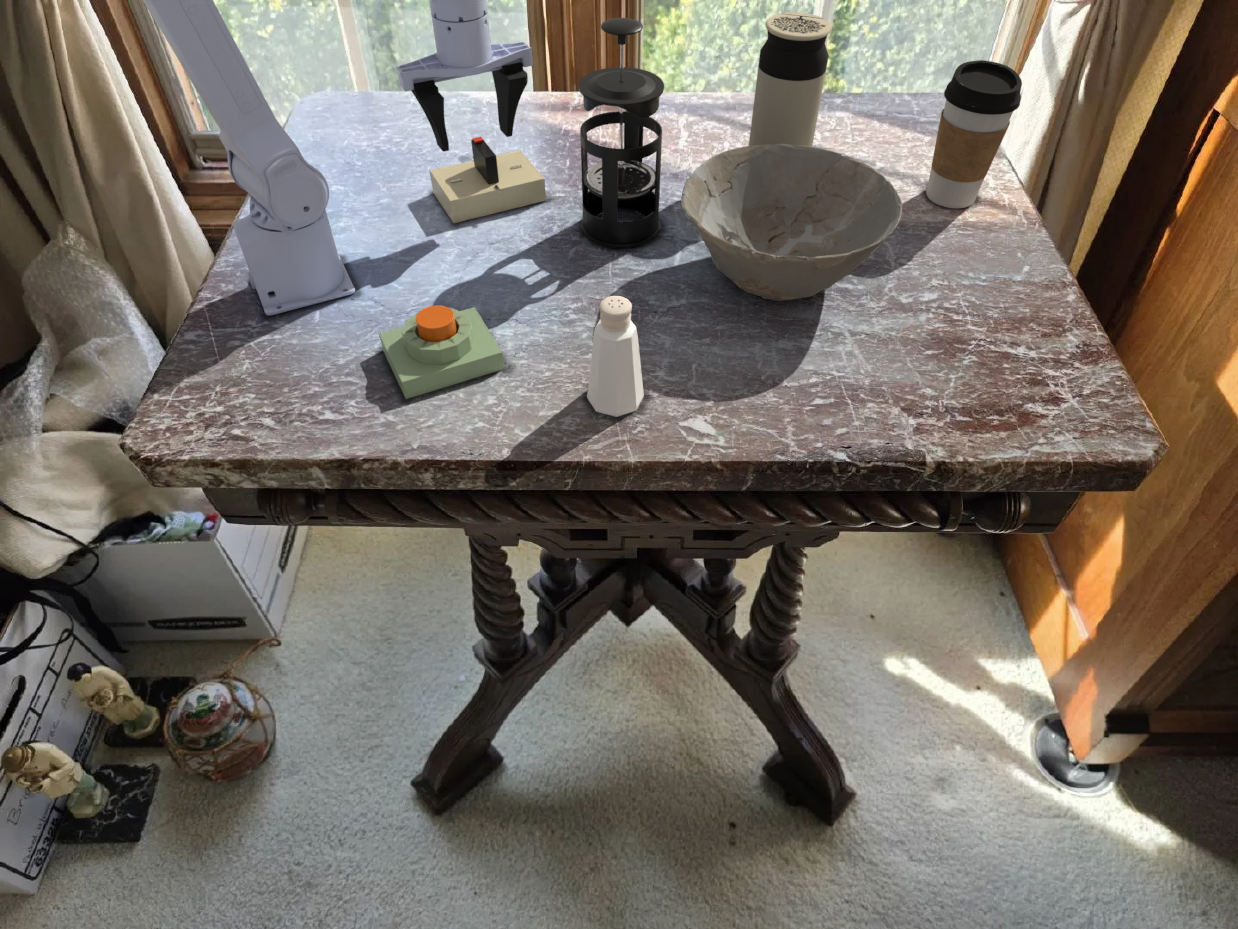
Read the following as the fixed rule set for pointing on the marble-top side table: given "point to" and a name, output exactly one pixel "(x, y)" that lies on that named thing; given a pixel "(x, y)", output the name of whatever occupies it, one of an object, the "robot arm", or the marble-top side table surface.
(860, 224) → the ceramic bowl
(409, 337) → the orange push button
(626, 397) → the salt shaker
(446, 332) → the button
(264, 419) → the marble-top side table surface
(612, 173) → the french press
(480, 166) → the knob
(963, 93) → the coffee cup
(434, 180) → the dial panel
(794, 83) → the travel mug
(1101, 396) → the marble-top side table surface
